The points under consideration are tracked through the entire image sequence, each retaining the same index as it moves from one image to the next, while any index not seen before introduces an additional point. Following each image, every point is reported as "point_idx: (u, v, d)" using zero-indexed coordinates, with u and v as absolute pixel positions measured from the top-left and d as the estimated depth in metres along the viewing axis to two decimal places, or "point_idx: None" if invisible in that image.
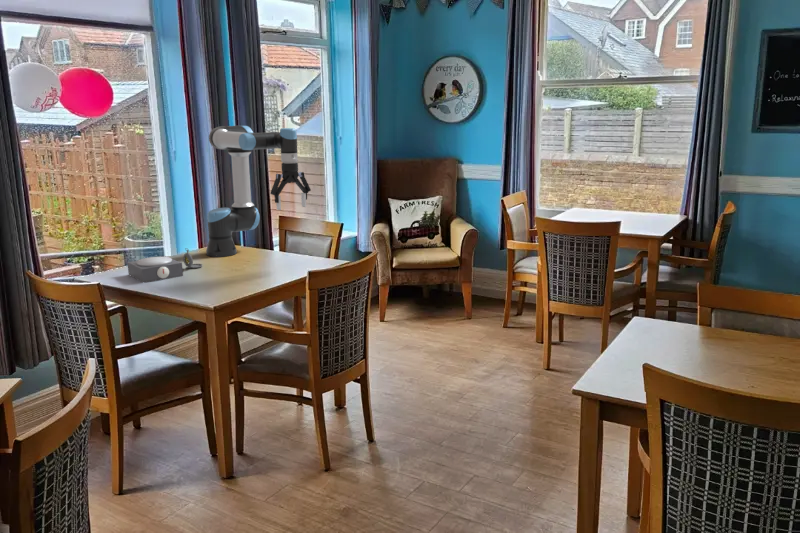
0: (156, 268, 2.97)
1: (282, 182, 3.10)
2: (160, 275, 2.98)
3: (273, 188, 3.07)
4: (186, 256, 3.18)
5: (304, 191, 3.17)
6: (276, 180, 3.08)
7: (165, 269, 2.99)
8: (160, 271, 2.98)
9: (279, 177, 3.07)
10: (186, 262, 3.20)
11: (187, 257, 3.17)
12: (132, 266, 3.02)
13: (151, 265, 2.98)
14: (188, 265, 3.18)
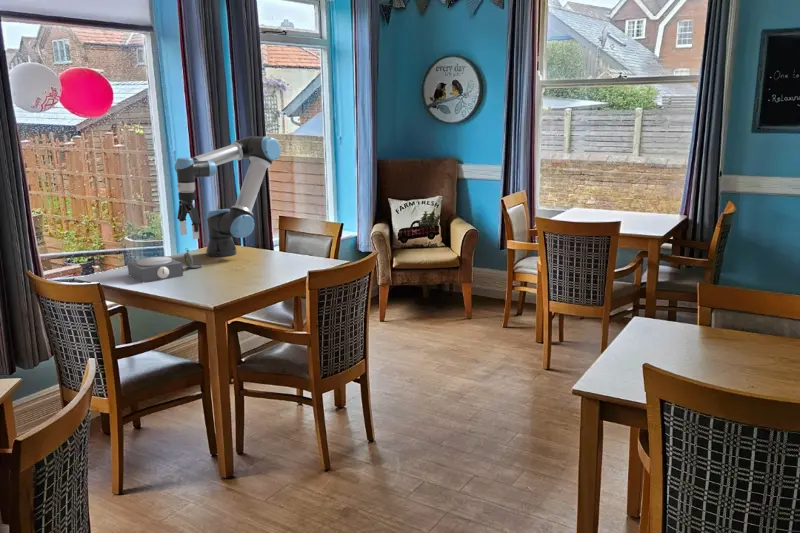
0: (156, 268, 2.97)
1: None
2: (160, 275, 2.98)
3: None
4: (186, 256, 3.18)
5: None
6: None
7: (165, 269, 2.99)
8: (160, 271, 2.98)
9: (179, 204, 3.18)
10: (186, 262, 3.20)
11: (187, 257, 3.17)
12: (132, 266, 3.02)
13: (151, 265, 2.98)
14: (188, 265, 3.18)
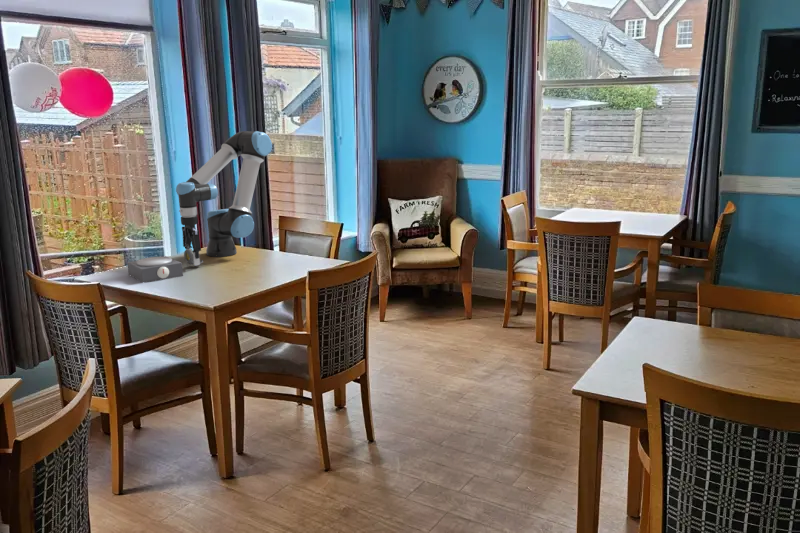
0: (156, 268, 2.97)
1: None
2: (160, 275, 2.98)
3: None
4: (187, 252, 3.18)
5: None
6: None
7: (165, 269, 2.99)
8: (160, 271, 2.98)
9: (182, 230, 3.21)
10: (187, 258, 3.20)
11: (188, 253, 3.17)
12: (132, 266, 3.02)
13: (151, 265, 2.98)
14: (189, 261, 3.18)
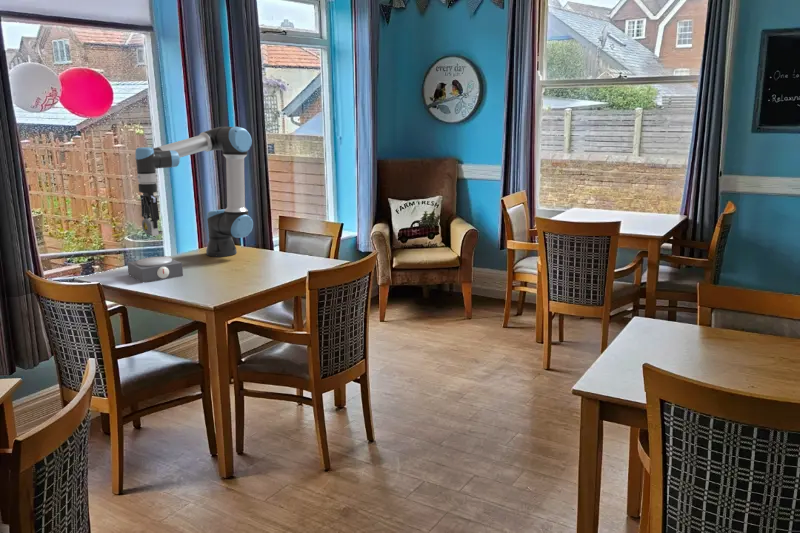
0: (156, 268, 2.97)
1: None
2: (160, 275, 2.98)
3: None
4: (145, 222, 3.00)
5: None
6: None
7: (165, 269, 2.99)
8: (160, 271, 2.98)
9: (141, 198, 3.02)
10: (145, 228, 3.02)
11: (146, 223, 2.99)
12: (132, 266, 3.02)
13: (151, 265, 2.98)
14: (147, 231, 2.99)
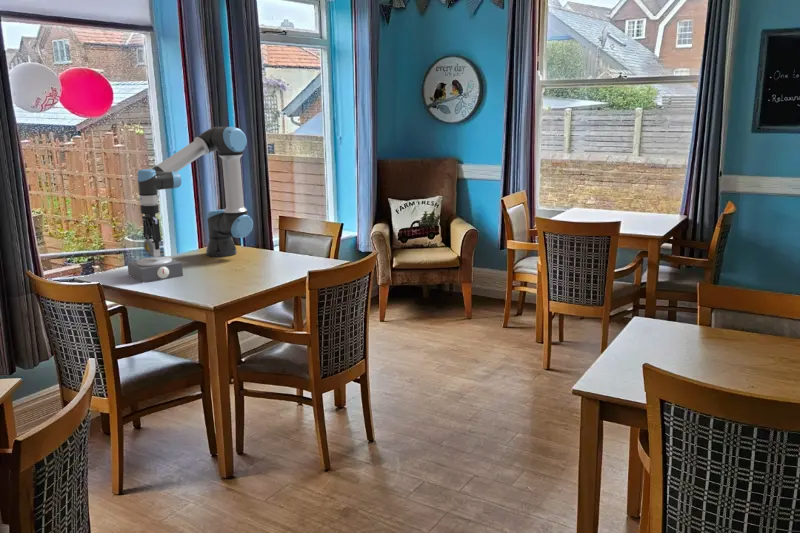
0: (156, 268, 2.97)
1: None
2: (160, 275, 2.98)
3: None
4: (146, 243, 3.02)
5: None
6: None
7: (165, 269, 2.99)
8: (160, 271, 2.98)
9: (143, 219, 3.04)
10: None
11: (147, 244, 3.01)
12: (132, 266, 3.02)
13: (151, 265, 2.98)
14: (148, 252, 3.02)
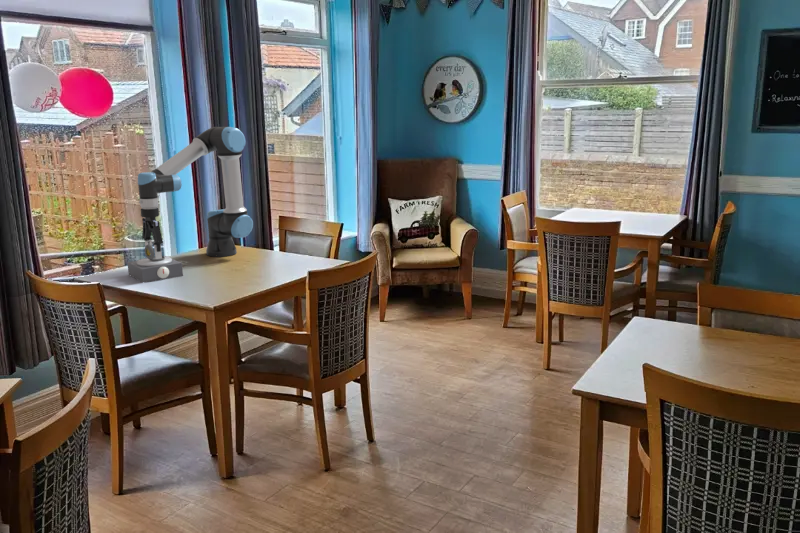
0: (156, 268, 2.97)
1: None
2: (160, 275, 2.98)
3: None
4: (147, 248, 3.02)
5: (155, 242, 2.98)
6: None
7: (165, 269, 2.99)
8: (160, 271, 2.98)
9: (143, 221, 3.05)
10: None
11: (148, 249, 3.01)
12: (132, 266, 3.02)
13: (151, 265, 2.98)
14: (149, 257, 3.02)
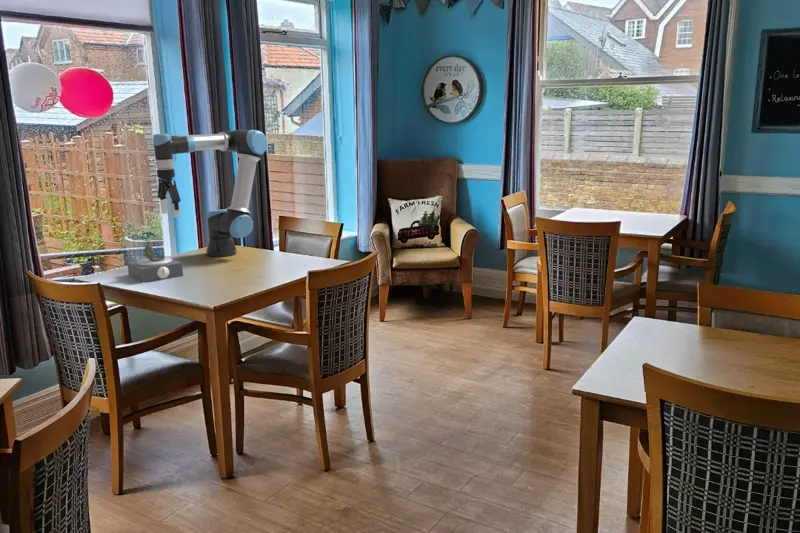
0: (156, 268, 2.97)
1: None
2: (160, 275, 2.98)
3: None
4: (147, 248, 3.02)
5: None
6: None
7: (165, 269, 2.99)
8: (160, 271, 2.98)
9: (158, 181, 3.09)
10: None
11: (148, 249, 3.02)
12: (132, 266, 3.02)
13: (151, 265, 2.98)
14: (149, 257, 3.02)
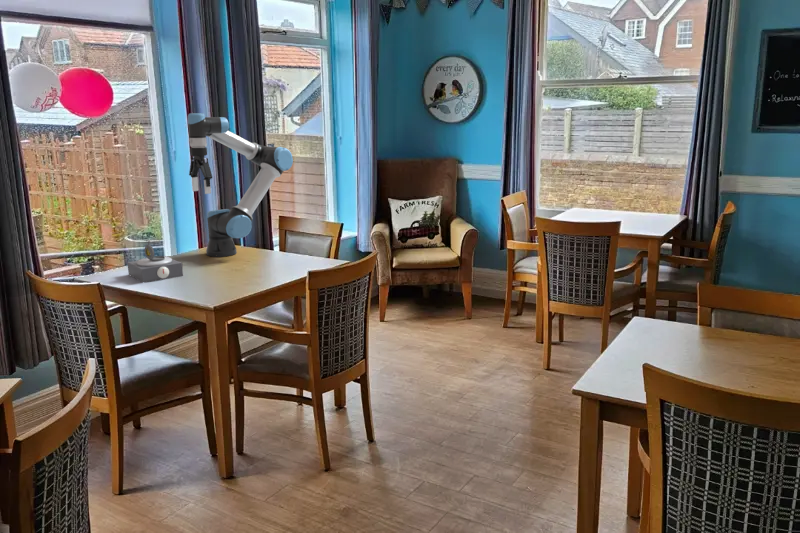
0: (156, 268, 2.97)
1: None
2: (160, 275, 2.98)
3: None
4: (147, 248, 3.02)
5: None
6: None
7: (165, 269, 2.99)
8: (160, 271, 2.98)
9: (191, 160, 3.22)
10: None
11: (148, 249, 3.02)
12: (132, 266, 3.02)
13: (151, 265, 2.98)
14: (149, 257, 3.02)
